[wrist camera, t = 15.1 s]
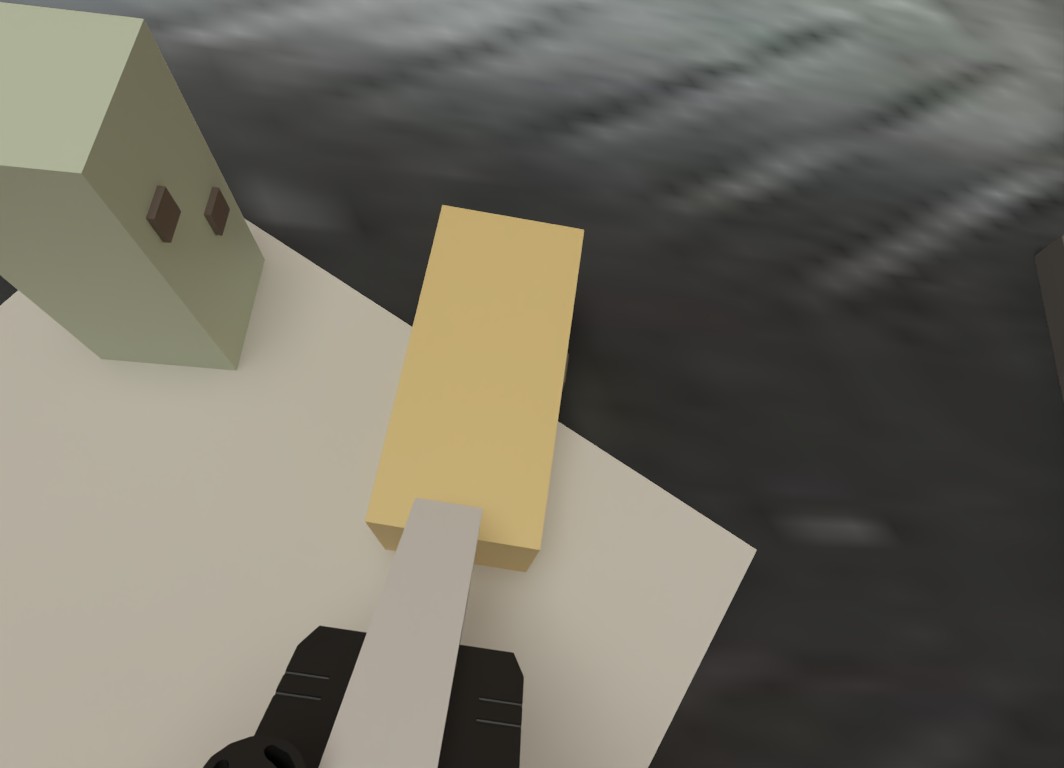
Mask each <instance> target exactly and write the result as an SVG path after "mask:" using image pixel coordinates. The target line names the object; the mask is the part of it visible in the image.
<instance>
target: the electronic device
mask: <svg viewBox="0 0 1064 768" xmlns="http://www.w3.org/2000/svg"><path fill="white" fill-rule="evenodd" d="M1034 258H1035V263H1036V268H1037V273H1038V278H1039V283H1040V288H1041V293H1042V298H1043V303H1044V308H1045V313H1046V318H1047V323H1048V328H1049V333H1050V338H1051V343H1052V348H1053V353H1054V358H1055V363H1056V368H1057V373H1058V378H1059V383H1060V388H1061V392H1062V397H1063V402H1064V235H1062V236H1061V237H1059V238H1058V239H1057V240H1055V241H1054V242H1052V243H1051V244H1050V245H1048V246H1047V247H1046V248H1044V249H1043V250H1041V251H1040V252H1039V253H1037V254H1036V255H1035V256H1034Z"/></svg>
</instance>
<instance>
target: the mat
mask: <svg viewBox="0 0 1064 768" xmlns="http://www.w3.org/2000/svg"><path fill="white" fill-rule="evenodd" d="M245 221H246V223H247V225H248V227H249V229H250V231H251V233H252V235H253V237H254V239H255V241H256V243H257V245H258V247H259V249H260V251H261V253H262V255H263V257H264V259H265V261H264V265H263V269H262V273H261V277H260V281H259V285H258V289H257V293H256V297H255V301H254V304H253V308H252V312H251V316H250V320H249V324H248V328H247V332H246V336H245V340H244V344H243V348H242V352H241V356H240V360H239V364H238V368H237V371H235V370H223V369H212V368H200V367H188V366H177V365H165V364H154V363H142V362H130V361H119V360H107V359H101V358H99V357H98V356H97V355H96V354H95V353H93V352H92V351H91V350H90V349H89V348H87V347H86V346H85V345H84V344H83V343H81V342H80V341H79V340H78V339H77V338H75V337H74V336H73V335H72V334H71V333H69V332H68V331H67V330H66V329H65V328H63V327H62V326H61V325H60V324H59V323H57V322H56V321H55V320H54V319H52V318H51V317H50V316H49V315H48V314H46V313H45V312H44V311H43V310H42V309H40V308H39V307H38V306H37V305H36V304H34V303H33V302H32V301H31V300H30V299H28V298H27V297H26V296H25V295H24V294H22V293H21V292H20V291H19V290H18V291H17V292H16V293H15V294H14V295H12V296H11V297H10V298H9V299H8V300H6V301H5V302H4V303H3V304H2V305H0V768H203V767H204V765H205V764H206V763H207V761H208V760H209V759H210V758H211V756H213V755H214V754H216V753H217V752H219V751H220V750H221V749H223V748H224V747H226V746H227V745H229V744H230V743H233V742H236V741H239V740H242V739H245V738H248V737H251V736H254V735H255V733H256V730H257V728H258V726H259V724H260V722H261V720H262V718H263V716H264V714H265V712H266V710H267V708H268V706H269V703H270V701H271V699H272V697H273V696H274V695H275V692H276V689H277V687H278V685H279V683H280V681H281V679H282V676H283V675H285V671H286V668H287V666H288V664H289V662H290V660H291V658H292V656H293V654H294V652H295V650H296V647H297V645H298V644H299V643H300V642H302V641H303V640H304V639H305V638H306V637H307V636H308V635H309V634H311V633H312V632H313V631H314V630H315V629H316V628H317V627H318V626H319V625H320V626H326V627H333V628H340V629H346V630H353V631H360V632H367V631H368V628H369V625H370V623H371V620H372V617H373V614H374V611H375V609H376V606H377V603H378V600H379V598H380V595H381V592H382V589H383V586H384V584H385V581H386V578H387V575H388V572H389V570H390V567H391V564H392V561H393V559H394V556H395V553H396V551H392V550H385V549H384V547H383V546H382V544H381V543H380V542H379V540H378V539H377V538H376V536H375V535H374V533H373V532H372V531H371V529H370V528H369V526H368V525H367V524H366V522H365V519H366V515H367V511H368V507H369V503H370V499H371V495H372V490H373V486H374V482H375V478H376V474H377V470H378V466H379V462H380V458H381V454H382V450H383V446H384V442H385V437H386V433H387V429H388V425H389V421H390V417H391V413H392V409H393V405H394V401H395V397H396V393H397V388H398V384H399V380H400V376H401V372H402V368H403V364H404V360H405V356H406V352H407V348H408V344H409V340H410V335H411V331H412V327H411V326H410V325H408V324H407V323H405V322H404V321H402V320H400V319H399V318H397V317H396V316H394V315H393V314H391V313H390V312H388V311H387V310H385V309H383V308H382V307H380V306H379V305H377V304H376V303H374V302H373V301H371V300H370V299H368V298H366V297H365V296H363V295H362V294H360V293H359V292H357V291H356V290H354V289H353V288H351V287H349V286H348V285H346V284H345V283H343V282H342V281H340V280H339V279H337V278H336V277H334V276H332V275H331V274H329V273H328V272H326V271H325V270H323V269H322V268H320V267H319V266H317V265H315V264H314V263H312V262H311V261H309V260H308V259H306V258H305V257H303V256H302V255H300V254H298V253H297V252H295V251H294V250H292V249H291V248H289V247H288V246H286V245H285V244H283V243H281V242H280V241H278V240H277V239H275V238H274V237H272V236H271V235H269V234H268V233H266V232H264V231H263V230H261V229H260V228H258V227H257V226H255V225H254V224H252V223H251V222H249V221H247V220H246V219H245ZM755 552H756V549H754V548H753V547H751V546H750V545H748V544H747V543H745V542H744V541H742V540H740V539H739V538H737V537H736V536H734V535H733V534H731V533H730V532H728V531H727V530H725V529H723V528H722V527H720V526H719V525H717V524H716V523H714V522H713V521H711V520H710V519H708V518H706V517H705V516H703V515H702V514H700V513H699V512H697V511H696V510H694V509H693V508H691V507H689V506H688V505H686V504H685V503H683V502H682V501H680V500H679V499H677V498H676V497H674V496H672V495H671V494H669V493H668V492H666V491H665V490H663V489H662V488H660V487H659V486H657V485H655V484H654V483H652V482H651V481H649V480H648V479H646V478H645V477H643V476H642V475H640V474H638V473H637V472H635V471H634V470H632V469H631V468H629V467H628V466H626V465H625V464H623V463H621V462H620V461H618V460H617V459H615V458H614V457H612V456H611V455H609V454H608V453H606V452H604V451H603V450H601V449H600V448H598V447H597V446H595V445H594V444H592V443H591V442H589V441H587V440H586V439H584V438H583V437H581V436H580V435H578V434H577V433H575V432H574V431H572V430H570V429H569V428H567V427H566V426H564V425H563V424H561V423H560V422H558V424H557V431H556V438H555V445H554V453H553V460H552V467H551V474H550V482H549V489H548V496H547V504H546V511H545V518H544V525H543V533H542V540H541V547H540V551H539V553H538V554H537V556H536V557H535V559H534V560H533V562H532V563H531V565H530V567H529V568H528V570H527V571H526V572H521V571H515V570H509V569H503V568H497V567H490V566H484V565H478V564H474V567H473V573H472V579H471V586H470V592H469V598H468V604H467V610H466V616H465V622H464V627H463V633H462V639H461V645H466V646H472V647H479V648H486V649H492V650H499V651H506V652H512V653H514V655H515V657H516V659H517V662H518V664H519V666H520V669H521V671H522V673H523V676H524V685H523V703H522V724H521V745H520V765H519V768H648V767H649V765H650V763H651V761H652V759H653V757H654V755H655V753H656V751H657V749H658V747H659V745H660V743H661V741H662V739H663V737H664V735H665V733H666V731H667V729H668V727H669V725H670V723H671V721H672V719H673V717H674V715H675V713H676V711H677V709H678V707H679V705H680V703H681V701H682V699H683V697H684V695H685V693H686V691H687V689H688V687H689V685H690V683H691V681H692V679H693V677H694V675H695V673H696V671H697V669H698V667H699V665H700V663H701V661H702V659H703V657H704V655H705V653H706V651H707V649H708V647H709V645H710V643H711V641H712V639H713V637H714V635H715V633H716V631H717V629H718V627H719V625H720V623H721V621H722V619H723V617H724V615H725V613H726V611H727V609H728V607H729V605H730V603H731V601H732V599H733V596H734V594H735V592H736V590H737V588H738V586H739V584H740V582H741V580H742V578H743V576H744V574H745V572H746V570H747V568H748V566H749V564H750V562H751V560H752V558H753V556H754V554H755Z"/></svg>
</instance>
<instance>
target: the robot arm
mask: <svg viewBox="0 0 1064 768" xmlns="http://www.w3.org/2000/svg"><path fill="white" fill-rule="evenodd" d="M482 511H483V508H478V507H471V506H465V505H459V504H452V503H446V502H439V501H433V500H427V499H420V498H415V500H414V503H413V506H412V508H411V511H410V514H409V517H408V520H407V522H406V525H405V528H404V531H403V533H402V536H401V539H400V542H399V545H398V547H397V550H396V553H395V556H394V559H393V561H392V564H391V567H390V570H389V572H388V575H387V578H386V581H385V584H384V586H383V589H382V592H381V595H380V598H379V600H378V603H377V606H376V609H375V611H374V614H373V617H372V620H371V623H370V625H369V628H368V631H367V632H360V631H353V630H346V629H340V628H333V627H326V626H320V625H319V626H318V627H317V628H316V629H315V630H314V631H313V632H312V633H311V634H309V635H308V636H307V637H306V638H305V639H304V640H303V641H302V642H300V643H299V644H298V645H297V647H296V650H295V652H294V654H293V656H292V658H291V660H290V662H289V664H288V666H287V668H286V671H285V675H283V676H282V679H281V681H280V683H279V685H278V687H277V689H276V692H275V695H274V696H273V697H272V699H271V701H270V703H269V706H268V708H267V710H266V712H265V714H264V716H263V718H262V720H261V722H260V724H259V726H258V728H257V730H256V733H255V735H254V736H251V737H248V738H245V739H242V740H239V741H236V742H233V743H230V744H229V745H227V746H226V747H224V748H223V749H221V750H220V751H219V752H217V753H216V754H214V755H213V756H211V758H210V759H209V760H208V761H207V763H206V764H205V765H204V767H203V768H519V765H520V745H521V724H522V703H523V685H524V676H523V673H522V671H521V669H520V666H519V664H518V662H517V659H516V657H515V655H514V653H512V652H506V651H499V650H492V649H486V648H479V647H472V646H466V645H461V639H462V633H463V627H464V622H465V616H466V610H467V604H468V598H469V592H470V586H471V579H472V573H473V567H474V561H475V555H476V548H477V542H478V536H479V530H480V523H481V517H482Z"/></svg>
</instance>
